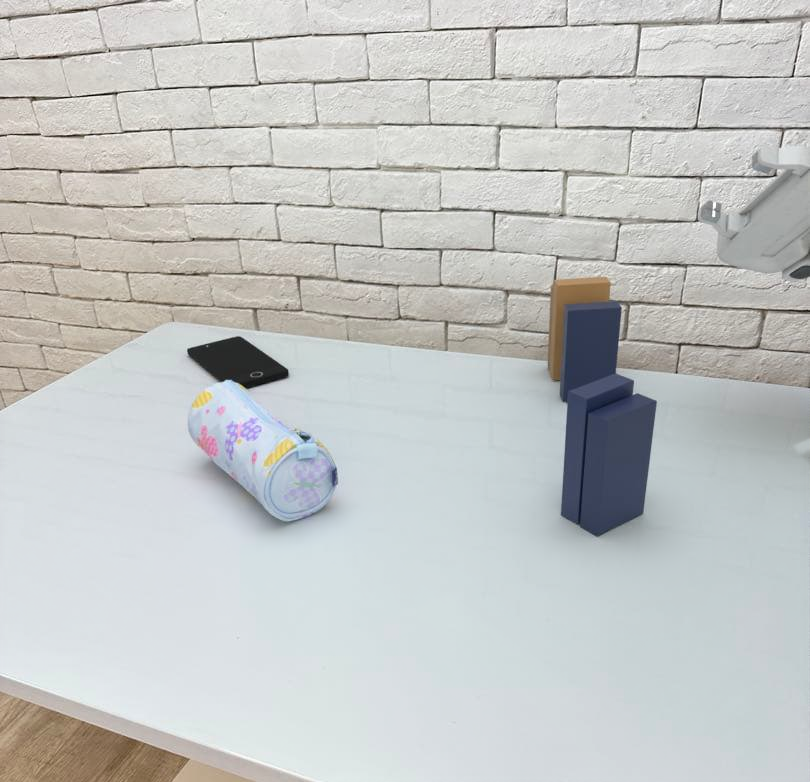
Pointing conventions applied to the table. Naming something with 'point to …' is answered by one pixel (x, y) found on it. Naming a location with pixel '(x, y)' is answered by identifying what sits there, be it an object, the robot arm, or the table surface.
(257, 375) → the cell phone
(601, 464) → the navy books
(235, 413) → the pencil case
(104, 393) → the table surface
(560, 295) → the tan rectangular block
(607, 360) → the navy book
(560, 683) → the table surface
